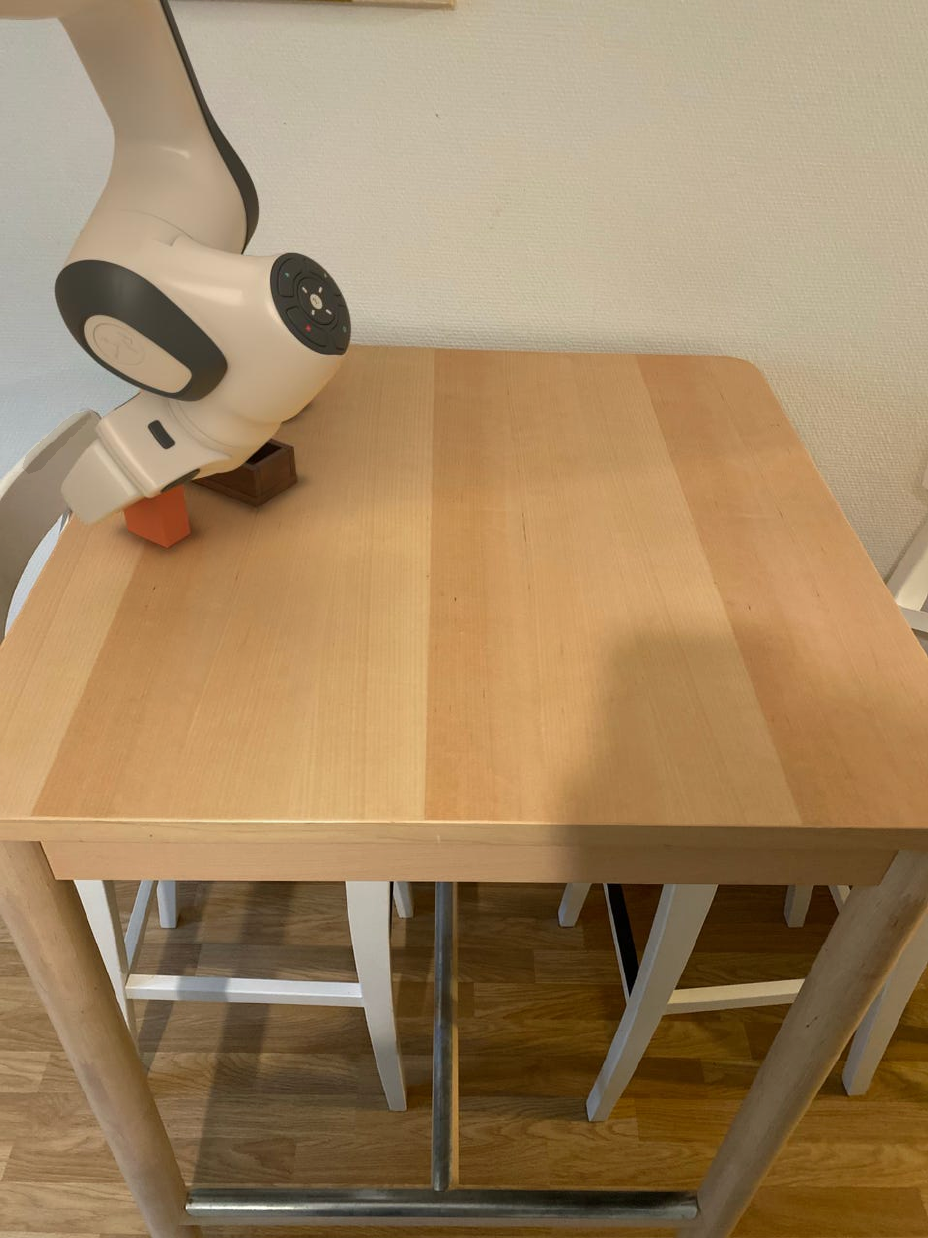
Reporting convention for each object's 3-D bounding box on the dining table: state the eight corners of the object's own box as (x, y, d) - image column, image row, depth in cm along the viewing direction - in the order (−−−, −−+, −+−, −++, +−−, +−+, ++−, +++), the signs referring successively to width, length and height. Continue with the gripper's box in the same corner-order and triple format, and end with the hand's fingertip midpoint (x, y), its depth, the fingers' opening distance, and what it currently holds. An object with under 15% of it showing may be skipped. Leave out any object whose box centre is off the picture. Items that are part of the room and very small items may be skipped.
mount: (257, 507, 87) (245, 412, 81) (169, 472, 92) (152, 379, 85) (297, 481, 91) (289, 388, 85) (212, 448, 96) (198, 358, 89)
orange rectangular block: (167, 548, 81) (149, 459, 76) (127, 530, 83) (107, 443, 77) (191, 533, 83) (175, 445, 78) (152, 516, 85) (134, 429, 79)
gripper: (275, 336, 77) (206, 411, 87) (81, 427, 63) (24, 504, 73) (320, 399, 78) (246, 466, 88) (138, 501, 64) (75, 567, 74)
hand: (144, 484), depth 80 cm, fingers closed on orange rectangular block, 3 cm apart
